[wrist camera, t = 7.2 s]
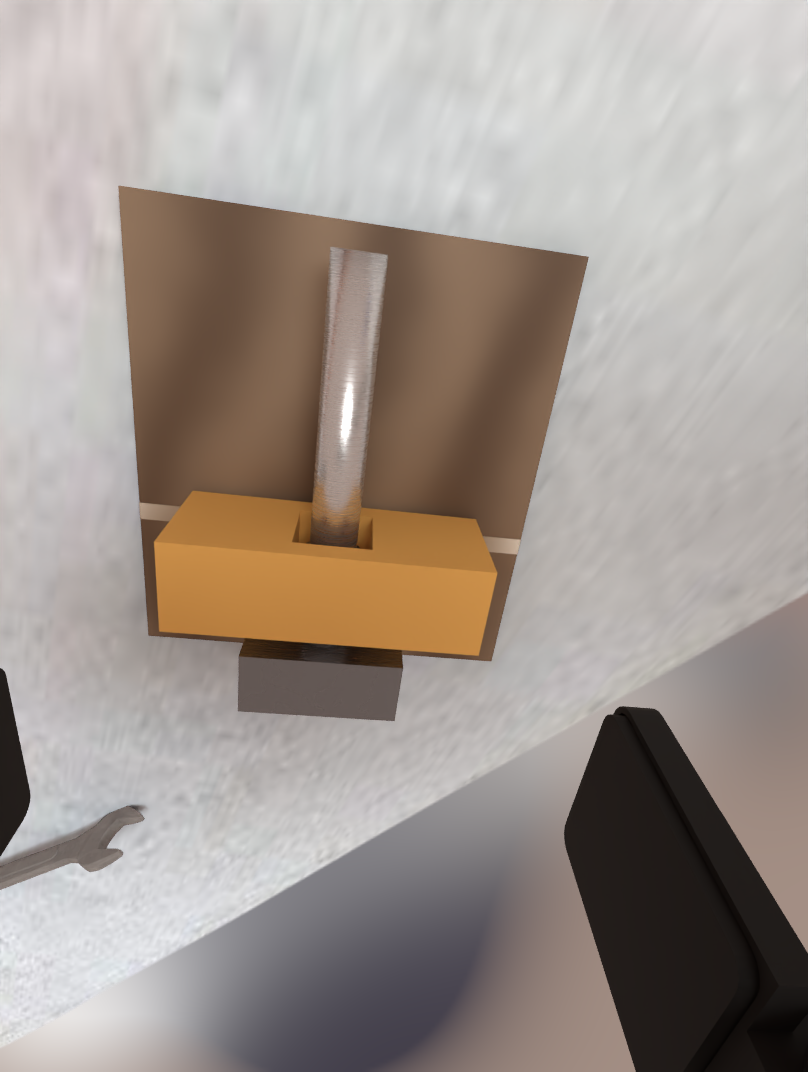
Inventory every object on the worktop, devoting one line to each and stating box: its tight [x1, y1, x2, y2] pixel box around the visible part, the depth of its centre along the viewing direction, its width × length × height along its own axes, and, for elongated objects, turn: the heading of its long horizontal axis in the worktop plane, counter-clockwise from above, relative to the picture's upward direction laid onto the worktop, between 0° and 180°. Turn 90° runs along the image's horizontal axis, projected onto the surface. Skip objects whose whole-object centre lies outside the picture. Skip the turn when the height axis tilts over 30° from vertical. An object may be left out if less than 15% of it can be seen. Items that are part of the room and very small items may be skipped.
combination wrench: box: [0, 806, 145, 890], centre depth 37 cm, size 4×1×20 cm
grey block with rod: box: [238, 247, 403, 721], centre depth 24 cm, size 7×19×5 cm, turn 173°
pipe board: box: [118, 186, 589, 661], centre depth 27 cm, size 18×20×1 cm
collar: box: [154, 491, 497, 656], centre depth 25 cm, size 13×4×5 cm, turn 83°
